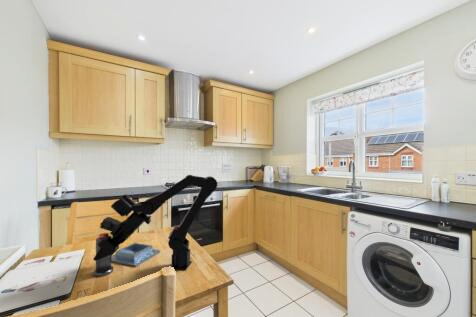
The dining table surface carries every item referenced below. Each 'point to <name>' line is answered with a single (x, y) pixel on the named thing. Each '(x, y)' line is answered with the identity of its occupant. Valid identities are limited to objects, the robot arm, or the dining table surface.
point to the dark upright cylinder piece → (102, 260)
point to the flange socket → (134, 254)
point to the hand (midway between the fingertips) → (99, 255)
